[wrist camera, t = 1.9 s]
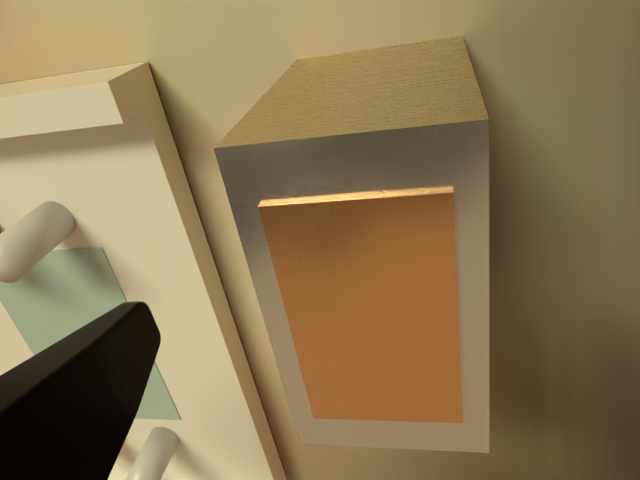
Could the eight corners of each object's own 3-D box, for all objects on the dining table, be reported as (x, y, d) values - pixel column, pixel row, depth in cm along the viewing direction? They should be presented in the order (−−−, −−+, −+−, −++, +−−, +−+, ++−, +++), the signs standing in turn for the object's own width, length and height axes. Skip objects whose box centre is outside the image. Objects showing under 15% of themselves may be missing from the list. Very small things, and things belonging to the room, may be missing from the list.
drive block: (462, 35, 12) (489, 121, 7) (468, 278, 15) (490, 456, 10) (297, 59, 13) (211, 150, 8) (339, 283, 16) (299, 447, 11)
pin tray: (147, 61, 13) (69, 100, 10) (286, 478, 22) (265, 562, 19) (-162, 109, 16) (-293, 151, 13) (74, 464, 25) (28, 536, 22)
